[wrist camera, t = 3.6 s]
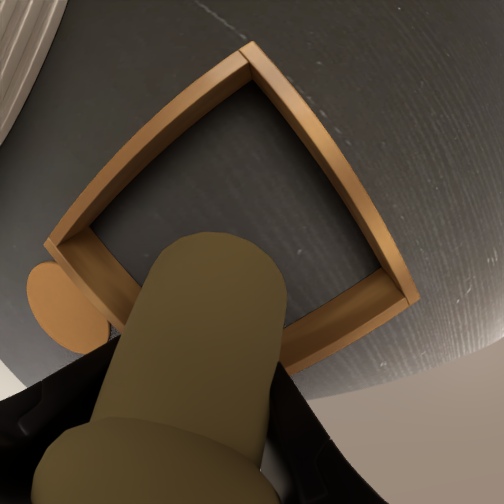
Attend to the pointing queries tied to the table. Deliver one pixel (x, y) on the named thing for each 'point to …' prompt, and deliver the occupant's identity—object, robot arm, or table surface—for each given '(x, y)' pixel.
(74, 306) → the coaster
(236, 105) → the table surface
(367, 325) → the wooden frame
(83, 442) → the pepper shaker
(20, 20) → the plate stack
